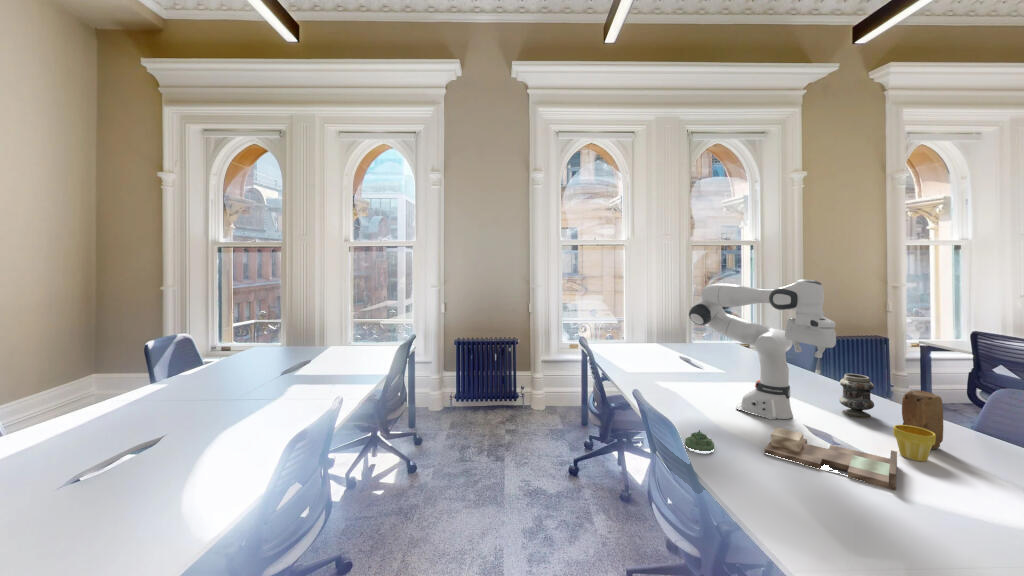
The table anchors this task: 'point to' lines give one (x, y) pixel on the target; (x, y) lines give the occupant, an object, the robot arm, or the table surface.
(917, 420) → the block
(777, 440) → the maple block
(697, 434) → the decorative artifact
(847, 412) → the apothecary jar
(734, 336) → the robot arm
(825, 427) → the table surface
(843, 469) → the box
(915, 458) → the plant pot
